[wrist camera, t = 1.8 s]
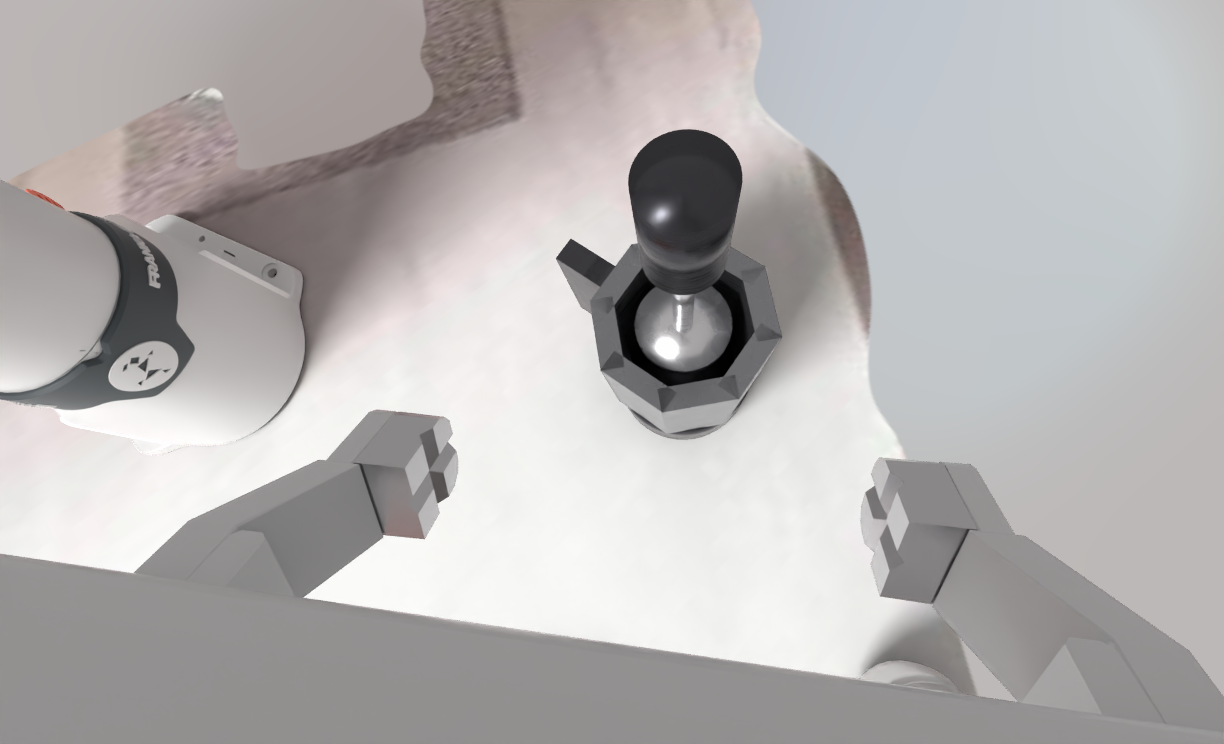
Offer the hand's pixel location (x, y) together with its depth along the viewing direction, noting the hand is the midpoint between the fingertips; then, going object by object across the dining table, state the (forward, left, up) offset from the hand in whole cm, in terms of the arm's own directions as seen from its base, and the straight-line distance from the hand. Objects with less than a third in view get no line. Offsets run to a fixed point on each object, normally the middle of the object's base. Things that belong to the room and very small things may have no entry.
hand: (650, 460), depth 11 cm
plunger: (-4, +7, -17) cm, 19 cm away
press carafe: (-6, +7, -30) cm, 31 cm away
